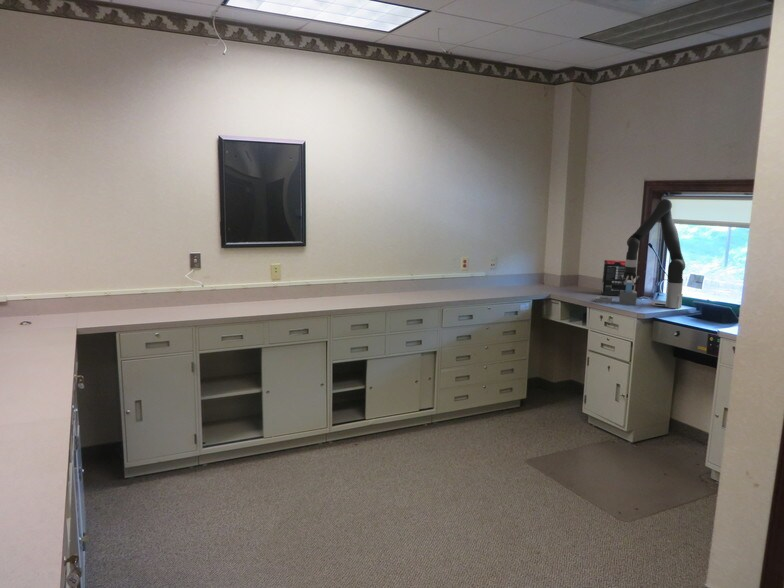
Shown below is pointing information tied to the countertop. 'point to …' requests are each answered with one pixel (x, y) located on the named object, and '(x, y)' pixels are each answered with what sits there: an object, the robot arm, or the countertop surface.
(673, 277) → the robot arm
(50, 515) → the countertop surface
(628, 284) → the plug
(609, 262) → the graphics card box
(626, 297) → the jack block
